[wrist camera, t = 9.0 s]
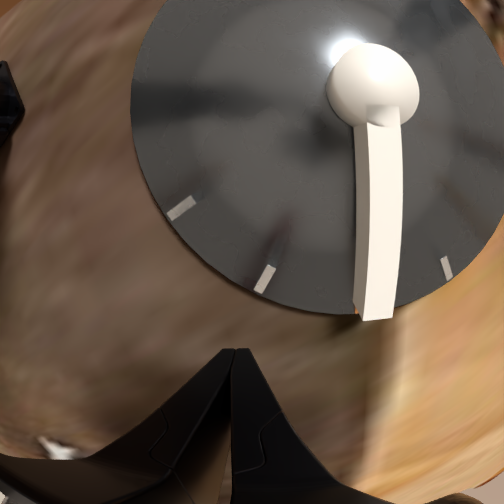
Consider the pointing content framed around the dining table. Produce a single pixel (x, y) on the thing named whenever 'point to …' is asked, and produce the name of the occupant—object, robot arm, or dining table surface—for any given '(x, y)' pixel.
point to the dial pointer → (375, 164)
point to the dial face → (315, 140)
